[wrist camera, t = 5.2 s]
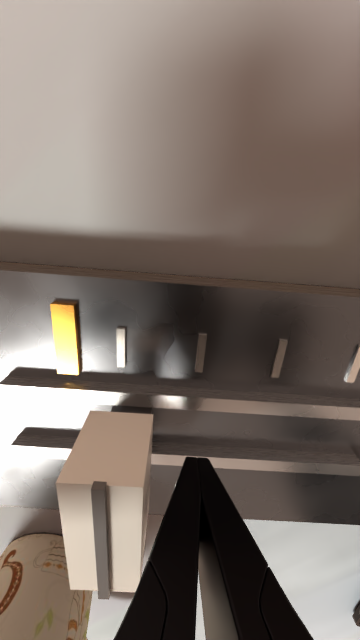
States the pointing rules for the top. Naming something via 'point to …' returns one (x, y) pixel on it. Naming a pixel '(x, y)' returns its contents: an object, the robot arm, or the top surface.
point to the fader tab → (107, 500)
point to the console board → (185, 383)
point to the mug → (40, 592)
